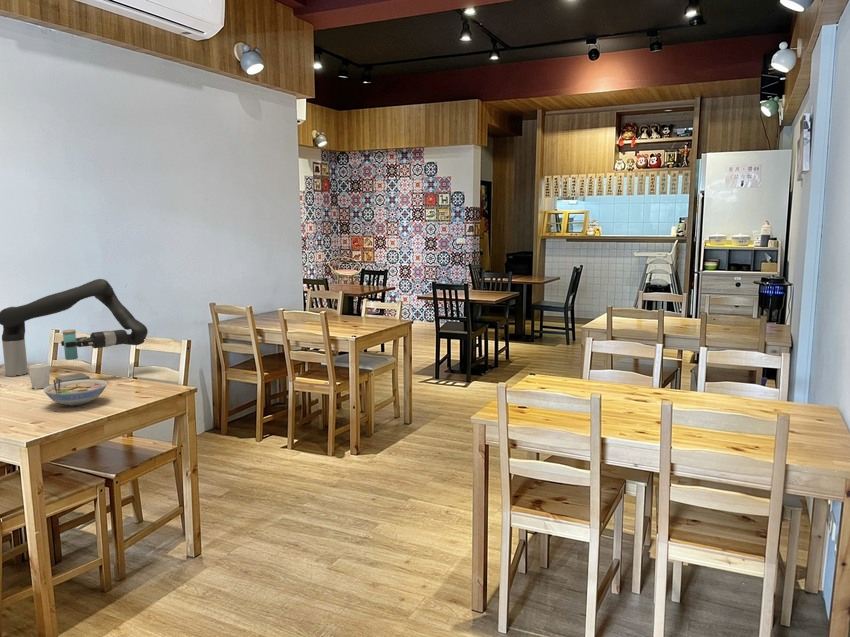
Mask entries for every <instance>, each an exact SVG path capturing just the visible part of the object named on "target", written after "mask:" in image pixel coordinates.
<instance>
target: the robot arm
mask: <svg viewBox="0 0 850 637" xmlns="http://www.w3.org/2000/svg"><path fill="white" fill-rule="evenodd" d="M91 297H94V298H95V299H96V300H98V301H99V302H101V304H103V305H104V306H106V307H107V309H108V310H109V311H110V312H111V314H112V316H114V319H115V320H116V321H117V322H118V324H119V325H120V326H121V327H122V328H123V329H115V330H104V331H95V332H91V333H90V337H89V336H80V337H76V341H75V342H66V343H65V345H66V347H75V346H76V347H77V348H84V347H92V349H101V348H109V347H112V346H117V345H118V346H119V345H130V346H139V345H141V344H143V343H144V342H145V341H146V339H147V336H148V333H149V332H148V328H147V326H146V325H145V324H144V323H142V322H141V321H139V320H138V319H136V317H135V316H134V315H133V314H132V313H131V312H130V311H129V309H128V308H127V307H126V306H124V305H123V304H122V302H121V301H120V300H119V298H118V296H117V295H116V292H115V291H114V288H113V287H112V286H111V284H110V283H109V281H107V280H106V279H102V278H98V279H93V280H91V281H89V282H86V283H84V284H82V285H78V286H76V287H73V288H70V289H67V290H63V291H59V292H55V293H52V294H49V295H46V296H43V297H41V298H39V299H36V300H34V301H31V302H30V303H26V304H23V305H20V306H19V305H18V306H10V307H6V308H5V307H4V308H3V309H1V310H0V325H1V326H2V327H3V328H2V329H3V330H2V335H1V342H2V351H3V352H2V353H3V361H4V362H3V363H4V373H5V374H4V375H5V376H6V375H7V376H6V377H17V376H16V375H20V376H24V375H23V374H25V375H27V374H26V373H29V372H28V371H29V367H28V360H27V359H28V358H27V350H26V349H27V348H26V338H25V336H26V325H25V324H26V321H27V322H28V321H29V320H32V319H36V318H41V317H46V316H50V315H53V314H54V315H55V314H58V313H61V312H64V311H67V310H69V309H70V308H72V307H74V305H77V303H79V302H80V301H81V300H85V299H88V298H91ZM126 330H131V332H130V333H128V332H127V331H126ZM144 339H145V340H144ZM60 343H61V346H62V347H64V340H61V341H60Z"/></svg>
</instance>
